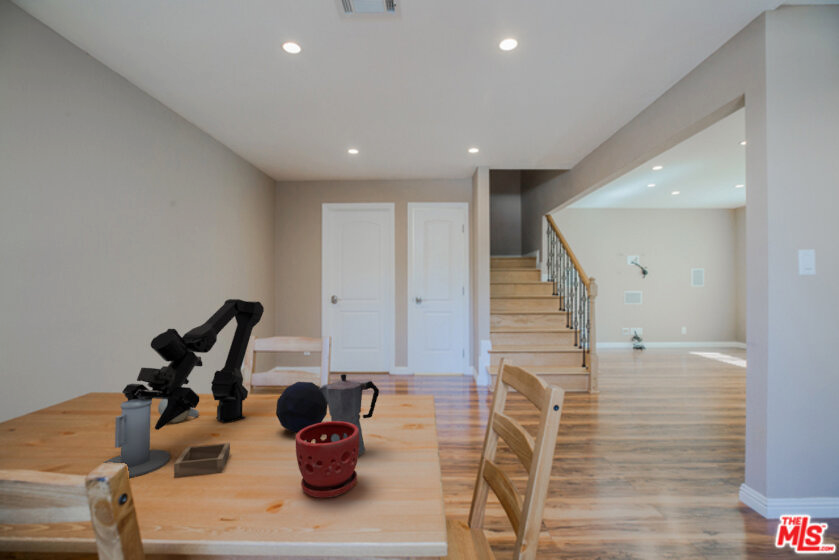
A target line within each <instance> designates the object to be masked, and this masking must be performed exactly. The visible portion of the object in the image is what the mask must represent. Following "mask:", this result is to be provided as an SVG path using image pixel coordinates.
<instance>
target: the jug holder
mask: <svg viewBox="0 0 839 560" xmlns="http://www.w3.org/2000/svg"><path fill="white" fill-rule="evenodd" d="M230 450H231V442H224V443H215V444H202V445H192V446H187V447H186V448H184V450H183V452H181V454H180V456H179V457H178V458H177V459H176V461H175V462H174V465H173V467H174V468H173V472H174V473H173V477H174V478H180V477H189V476H199V475H206V474H207V475H208V474H210V475H211V474H217V473H222V472H223V470H224V468H225V466H226V464H227V462H228V459H229V457H230V455H231V451H230Z"/></svg>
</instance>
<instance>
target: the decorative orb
mask: <svg viewBox="0 0 839 560" xmlns="http://www.w3.org/2000/svg"><path fill="white" fill-rule="evenodd" d="M320 387H321V386H318V385H317V384H315V383H314V382H311V381H310V382H308V381H297V382H294V383H293V384H290V385H289V386H287V387H286V388H285V389H284V390H283V392H282V393H281V395H279V397H278V398H277V400H276V402H277V403H276V411H275V415H276V418H277V419H278V421H279V424H280V425H281V427H283V429H286V430H288V431H290V432H292V433H295V434H297V433H298V432H299V431H300V430H302V429H304V428H306V427H308V426H311V425H314V424H317V423H322V422H324V419H325V417H326V416H327V414H328V403H327V401H326V399H325V397H324V395H323V393H322V391H321V390H319V388H320Z"/></svg>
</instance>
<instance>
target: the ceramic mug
mask: <svg viewBox="0 0 839 560" xmlns="http://www.w3.org/2000/svg"><path fill="white" fill-rule="evenodd" d="M167 402H168V399H160V401H159V403H158V407H157V410H158V413H159V415H160V416H161V415H162V413H163V412H164V410H165V408H166V407H167ZM199 414H200V411H199V410H198V409H196V408H191V409H190V410H189V411H185V412H184V413H182V414H181V415H179V416H177V417H176V418H174V419H173V420H171V421H170V422H169V423H173V424H176V423H180V422H182V421H184V420H186V419H187V418H188V417H191V418H197V417H198V416H199Z"/></svg>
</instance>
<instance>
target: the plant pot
mask: <svg viewBox="0 0 839 560" xmlns="http://www.w3.org/2000/svg"><path fill="white" fill-rule="evenodd" d="M344 433H346V434H347V438H346V439H345V438H344V436H343V435H344ZM334 434H337V435H338V436H339V438H340V441H336V442H332V440H331V437H332V435H334ZM324 435H325V436H326V438H324V439H322V436H324ZM313 440H314V442H312V441H313ZM358 454H359V430H358V427H357V426H356V425H354V424H352V423H349V422H342V421H331V420H330V421H322V422H321V423H317V424H314V425H311V426H308V427H306V428H304V429H302V430H300V431H299V432H298V433H296V435H295V456H296V461H297V466H298V469H299V472H300V474H301V477H302V479H301V480H300V481H301V482H300V485H301V488H302V490H303V491H304V492H305V493H306V494H307V495H309V496H311V497H315V498H324V499H325V498H335V497H337V496H339V495H343V494H344V493H346V492H348V491H349V490H351V488H353V486H355V484H356V482H357V478H358V473H357V470H355V469H356V467H357V463H358V461H359V455H358Z"/></svg>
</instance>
